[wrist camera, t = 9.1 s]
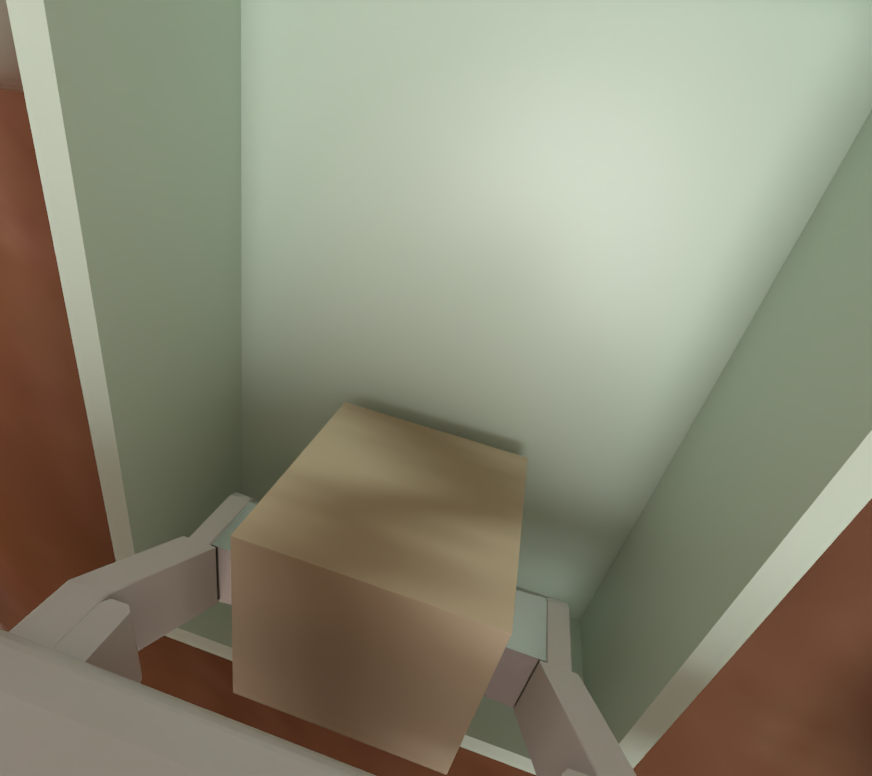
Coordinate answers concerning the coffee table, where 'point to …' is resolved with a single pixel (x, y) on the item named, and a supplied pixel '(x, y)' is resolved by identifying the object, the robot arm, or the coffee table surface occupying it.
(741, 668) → the coffee table surface
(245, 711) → the coffee table surface
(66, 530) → the coffee table surface
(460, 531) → the beech cube
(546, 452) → the tray
